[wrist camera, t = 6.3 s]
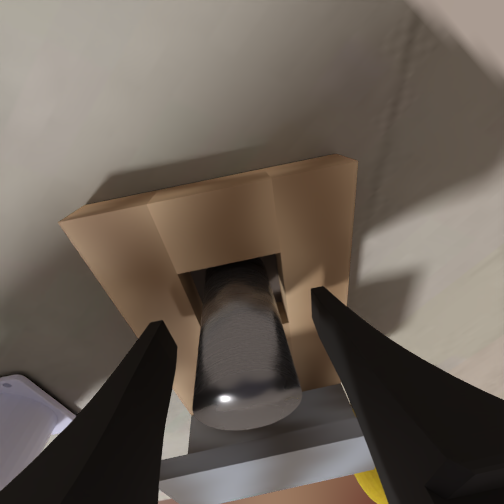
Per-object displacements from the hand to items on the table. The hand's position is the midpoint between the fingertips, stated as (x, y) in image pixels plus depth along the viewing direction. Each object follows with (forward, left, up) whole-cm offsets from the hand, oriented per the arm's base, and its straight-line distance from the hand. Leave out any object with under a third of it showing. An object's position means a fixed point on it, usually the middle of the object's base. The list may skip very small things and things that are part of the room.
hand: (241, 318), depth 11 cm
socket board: (0, -3, -3) cm, 4 cm away
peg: (0, 0, -3) cm, 3 cm away
